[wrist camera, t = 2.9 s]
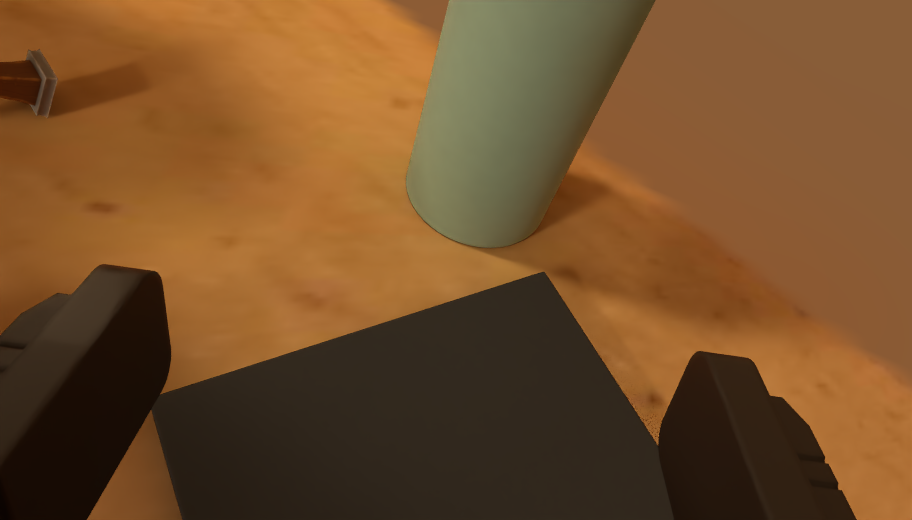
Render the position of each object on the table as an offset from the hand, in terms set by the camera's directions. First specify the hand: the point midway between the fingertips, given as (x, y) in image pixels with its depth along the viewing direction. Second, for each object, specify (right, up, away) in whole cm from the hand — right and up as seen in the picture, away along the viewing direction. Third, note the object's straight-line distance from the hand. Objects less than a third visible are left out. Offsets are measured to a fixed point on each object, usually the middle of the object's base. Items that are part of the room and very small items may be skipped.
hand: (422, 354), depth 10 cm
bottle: (+1, +4, +18) cm, 19 cm away
